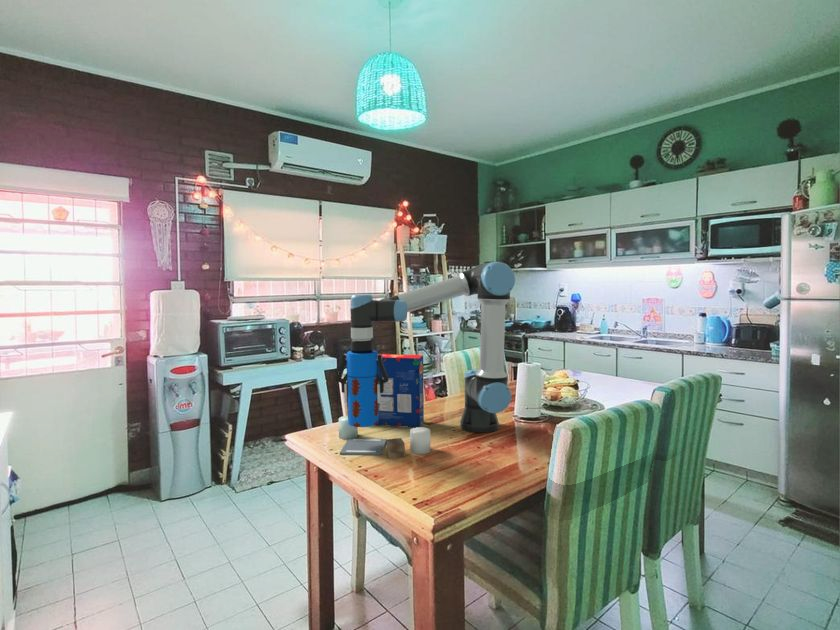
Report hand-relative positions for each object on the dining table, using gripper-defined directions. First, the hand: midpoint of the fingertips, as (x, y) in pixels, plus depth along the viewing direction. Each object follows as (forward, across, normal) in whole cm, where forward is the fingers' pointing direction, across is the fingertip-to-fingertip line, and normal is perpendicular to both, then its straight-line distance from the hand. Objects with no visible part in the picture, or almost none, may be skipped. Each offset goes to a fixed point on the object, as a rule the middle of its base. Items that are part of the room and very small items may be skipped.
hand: (362, 401), depth 159 cm
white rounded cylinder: (+16, -20, +2) cm, 26 cm away
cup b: (+16, +8, -11) cm, 21 cm away
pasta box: (+16, -5, -28) cm, 33 cm away
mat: (+16, 0, 0) cm, 16 cm away
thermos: (+8, 0, 0) cm, 8 cm away
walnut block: (+16, -12, +7) cm, 22 cm away
